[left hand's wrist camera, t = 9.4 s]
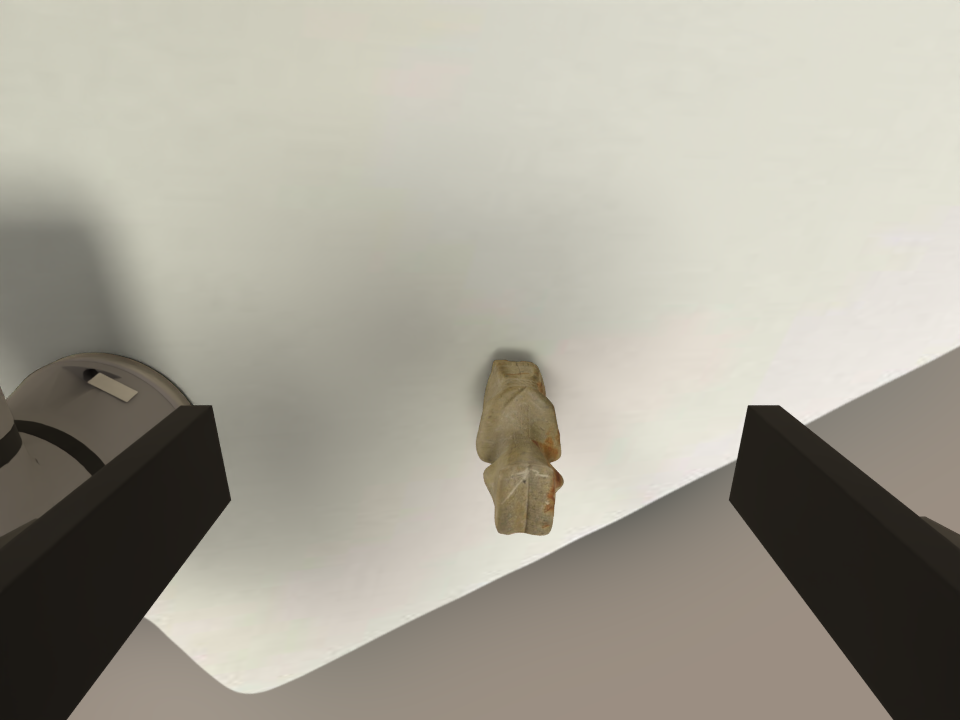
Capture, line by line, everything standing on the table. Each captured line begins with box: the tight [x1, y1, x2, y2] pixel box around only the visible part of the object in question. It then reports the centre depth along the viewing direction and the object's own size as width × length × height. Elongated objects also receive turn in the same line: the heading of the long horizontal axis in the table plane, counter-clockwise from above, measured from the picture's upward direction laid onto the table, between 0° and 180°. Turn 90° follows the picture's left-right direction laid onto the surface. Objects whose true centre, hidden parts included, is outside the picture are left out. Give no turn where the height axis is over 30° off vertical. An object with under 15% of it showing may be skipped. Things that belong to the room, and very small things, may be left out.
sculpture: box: [476, 360, 564, 536], centre depth 36 cm, size 6×7×15 cm
